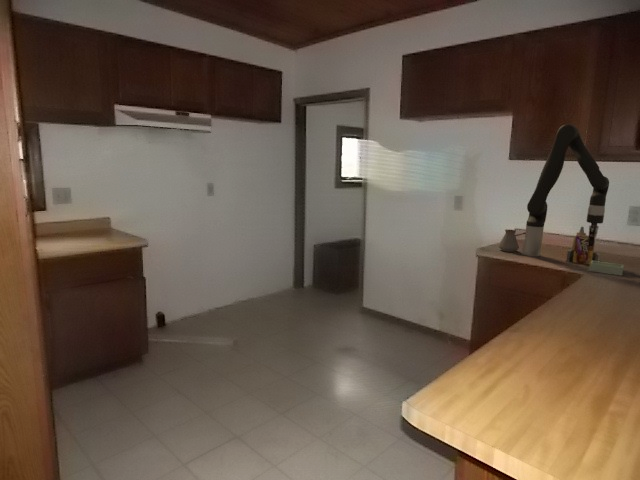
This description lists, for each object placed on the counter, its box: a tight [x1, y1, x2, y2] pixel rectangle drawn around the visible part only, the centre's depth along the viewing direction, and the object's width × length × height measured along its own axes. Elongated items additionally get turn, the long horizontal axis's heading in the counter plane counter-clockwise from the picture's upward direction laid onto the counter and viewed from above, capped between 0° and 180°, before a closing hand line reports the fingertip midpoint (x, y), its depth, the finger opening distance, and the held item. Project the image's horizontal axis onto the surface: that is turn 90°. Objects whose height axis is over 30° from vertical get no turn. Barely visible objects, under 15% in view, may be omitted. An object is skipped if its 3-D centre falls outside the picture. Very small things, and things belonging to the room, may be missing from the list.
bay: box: [566, 248, 601, 263], centre depth 234 cm, size 14×8×6 cm, turn 52°
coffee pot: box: [498, 229, 526, 253], centre depth 258 cm, size 21×12×15 cm, turn 61°
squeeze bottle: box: [570, 226, 587, 250], centre depth 248 cm, size 8×8×18 cm
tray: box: [588, 260, 625, 276], centre depth 215 cm, size 14×9×4 cm, turn 52°
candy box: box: [572, 233, 596, 265], centre depth 232 cm, size 9×4×15 cm, turn 54°
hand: (591, 245), depth 230 cm, fingers closed on candy box, 4 cm apart
